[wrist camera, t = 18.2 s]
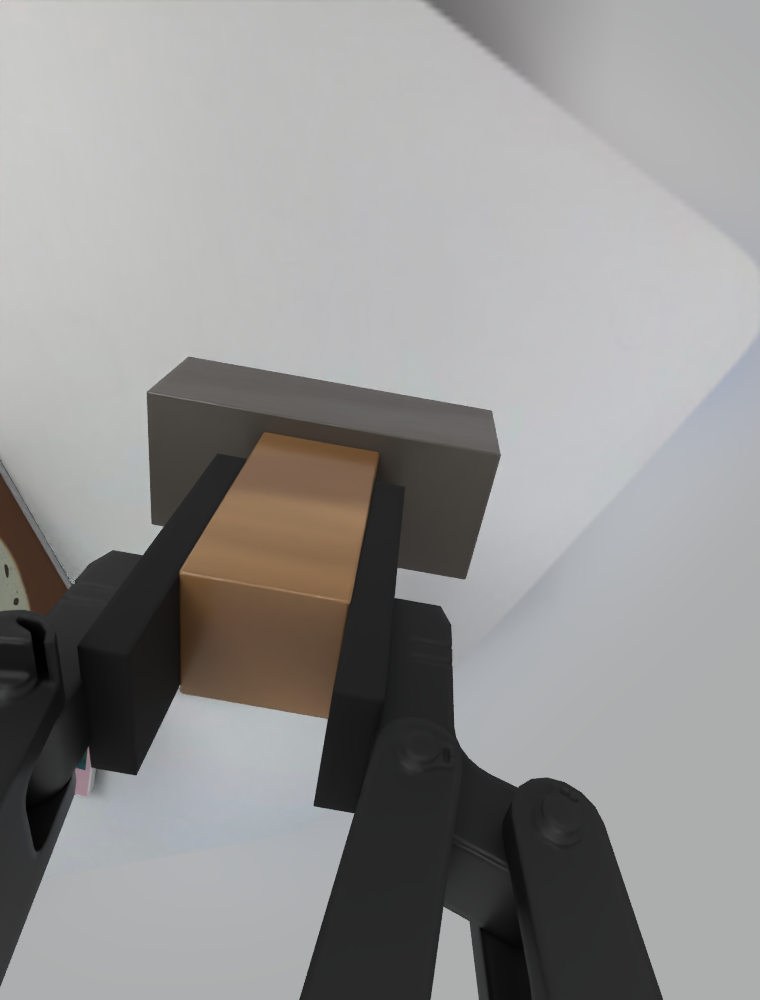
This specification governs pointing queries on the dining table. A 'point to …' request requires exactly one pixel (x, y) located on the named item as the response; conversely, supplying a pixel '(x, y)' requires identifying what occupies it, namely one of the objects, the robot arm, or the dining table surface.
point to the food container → (25, 557)
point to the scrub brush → (302, 516)
